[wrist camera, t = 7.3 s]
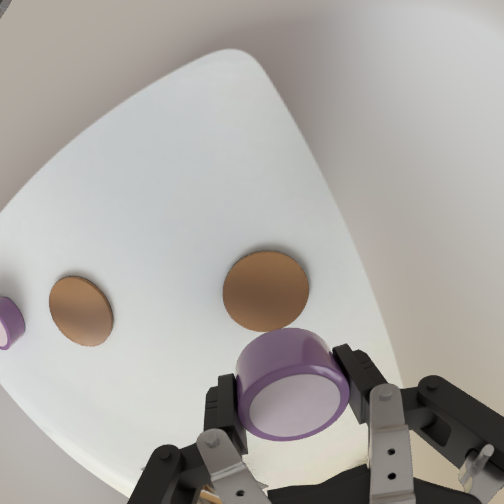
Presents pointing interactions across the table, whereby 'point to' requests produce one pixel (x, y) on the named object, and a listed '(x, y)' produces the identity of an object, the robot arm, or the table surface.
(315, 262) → the table surface
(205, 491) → the architectural model
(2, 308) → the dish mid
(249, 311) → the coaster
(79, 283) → the brown wooden coaster
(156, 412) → the table surface
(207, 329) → the table surface
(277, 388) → the purple short cylinder
